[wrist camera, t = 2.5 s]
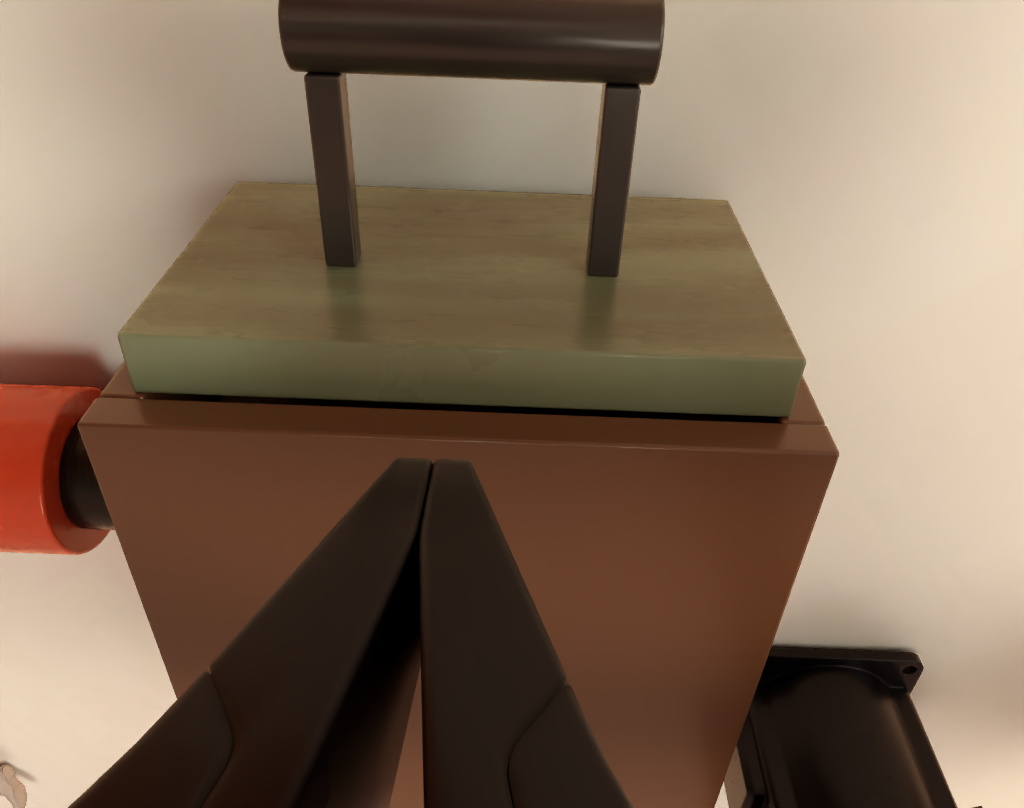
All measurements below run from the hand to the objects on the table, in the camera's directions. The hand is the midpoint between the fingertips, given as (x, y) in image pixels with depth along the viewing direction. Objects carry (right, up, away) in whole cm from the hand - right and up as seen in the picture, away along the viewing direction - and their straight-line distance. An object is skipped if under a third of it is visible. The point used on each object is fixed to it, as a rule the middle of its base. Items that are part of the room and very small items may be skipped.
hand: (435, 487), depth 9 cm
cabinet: (0, 0, +15) cm, 15 cm away
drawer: (0, +3, +12) cm, 12 cm away
